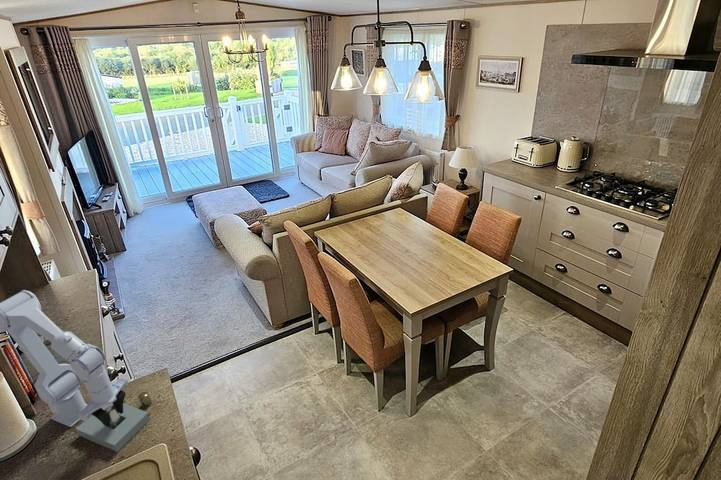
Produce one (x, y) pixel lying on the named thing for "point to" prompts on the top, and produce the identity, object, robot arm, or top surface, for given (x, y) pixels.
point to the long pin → (113, 416)
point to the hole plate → (121, 434)
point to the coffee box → (56, 356)
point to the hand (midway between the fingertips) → (113, 418)
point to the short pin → (145, 399)
